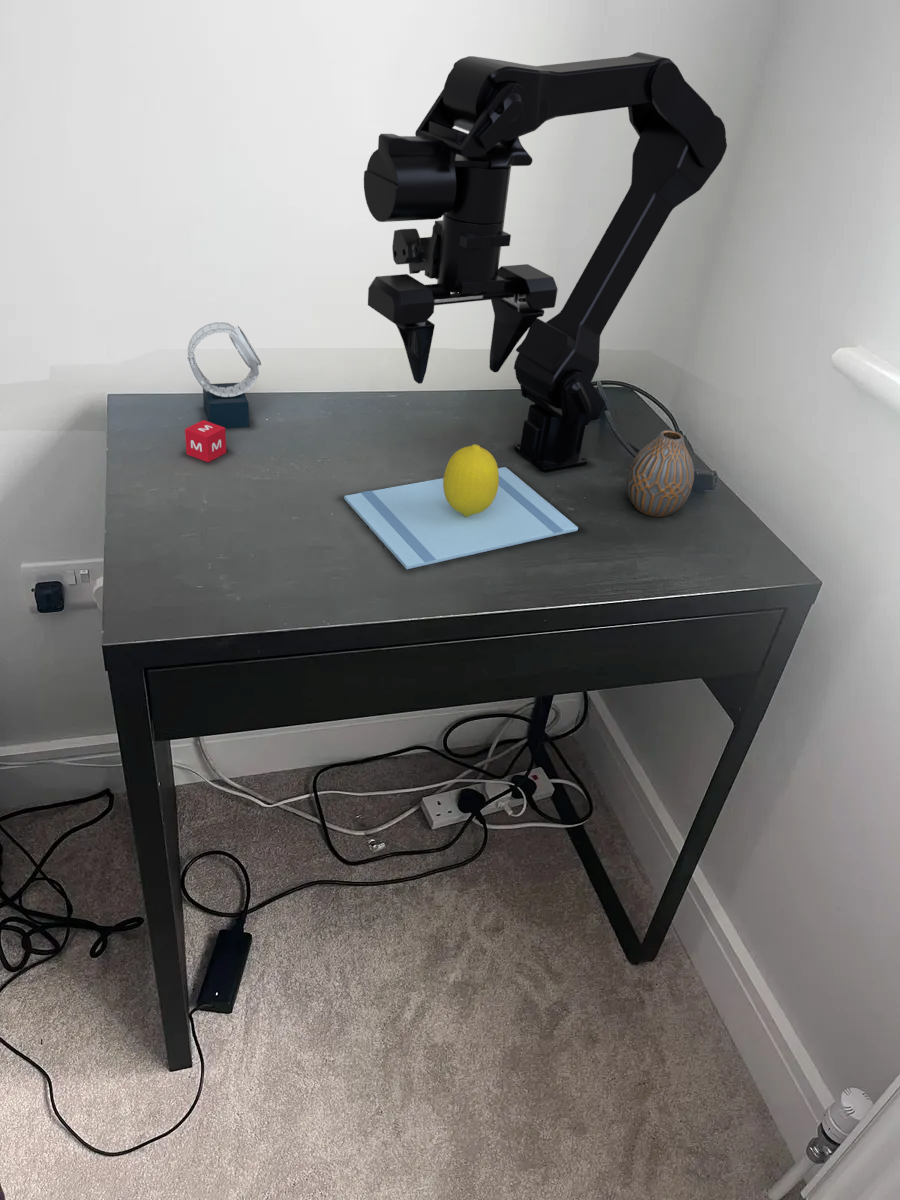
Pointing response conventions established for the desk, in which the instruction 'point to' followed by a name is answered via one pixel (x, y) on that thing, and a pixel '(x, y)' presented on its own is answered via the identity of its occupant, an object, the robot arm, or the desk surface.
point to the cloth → (455, 520)
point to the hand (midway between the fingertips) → (456, 376)
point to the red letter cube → (205, 441)
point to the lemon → (471, 480)
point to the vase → (661, 475)
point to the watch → (226, 399)
